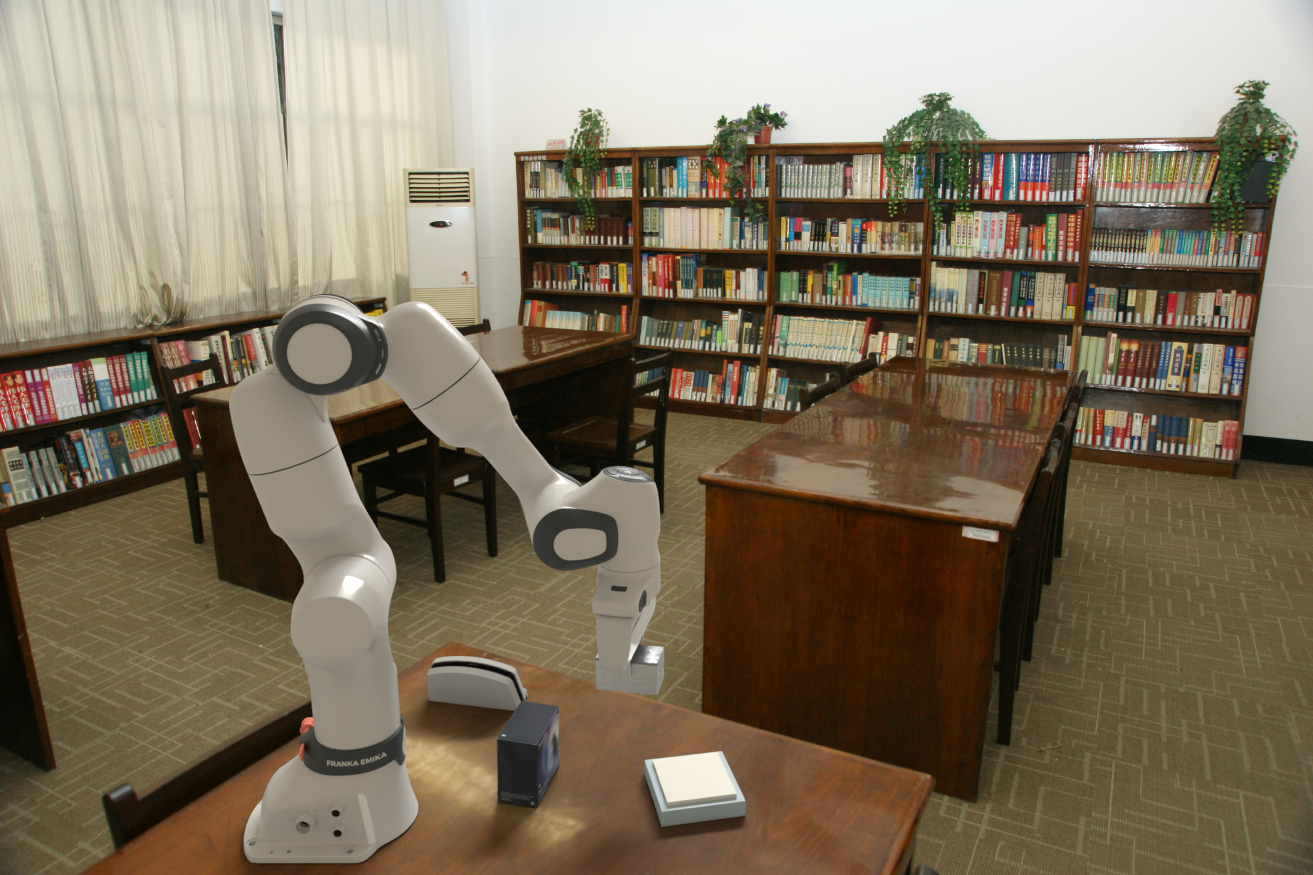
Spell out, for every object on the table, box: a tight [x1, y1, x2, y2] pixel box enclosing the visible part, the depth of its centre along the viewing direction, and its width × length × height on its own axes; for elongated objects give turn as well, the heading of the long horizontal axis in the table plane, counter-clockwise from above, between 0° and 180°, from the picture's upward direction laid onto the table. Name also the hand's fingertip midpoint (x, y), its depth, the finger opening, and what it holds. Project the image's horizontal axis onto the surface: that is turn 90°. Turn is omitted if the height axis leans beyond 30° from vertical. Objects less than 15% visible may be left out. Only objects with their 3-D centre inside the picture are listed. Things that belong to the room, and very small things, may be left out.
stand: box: [643, 750, 747, 828], centre depth 131 cm, size 12×12×3 cm
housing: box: [594, 644, 665, 696], centre depth 131 cm, size 9×5×5 cm, turn 78°
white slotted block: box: [425, 655, 529, 712], centre depth 153 cm, size 17×5×10 cm, turn 79°
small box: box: [496, 700, 560, 809], centre depth 132 cm, size 11×6×10 cm, turn 168°
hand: (630, 667), depth 131 cm, fingers closed on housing, 5 cm apart
